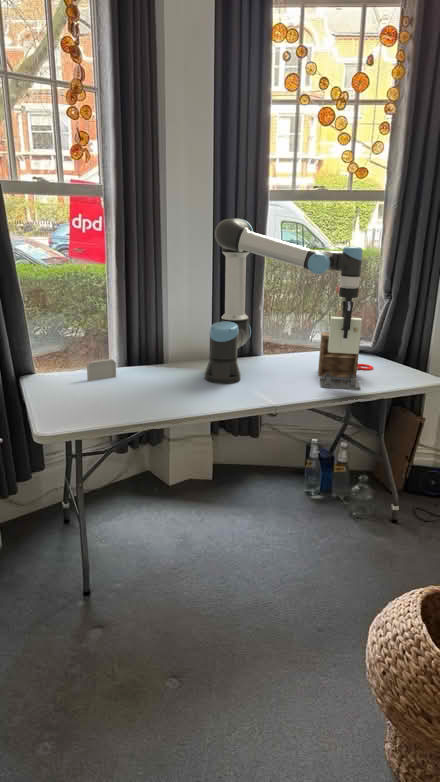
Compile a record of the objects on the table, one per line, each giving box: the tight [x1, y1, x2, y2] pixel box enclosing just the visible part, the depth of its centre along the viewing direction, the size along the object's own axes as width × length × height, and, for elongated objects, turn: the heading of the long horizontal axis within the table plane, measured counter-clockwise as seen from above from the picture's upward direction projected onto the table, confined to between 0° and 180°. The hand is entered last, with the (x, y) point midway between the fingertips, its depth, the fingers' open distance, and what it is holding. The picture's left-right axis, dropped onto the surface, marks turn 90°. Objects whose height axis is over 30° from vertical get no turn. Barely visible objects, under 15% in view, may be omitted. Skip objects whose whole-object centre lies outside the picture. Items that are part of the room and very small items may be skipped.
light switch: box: [86, 358, 117, 382], centre depth 235 cm, size 2×12×8 cm, turn 125°
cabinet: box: [317, 331, 361, 379], centre depth 250 cm, size 16×8×18 cm, turn 83°
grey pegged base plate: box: [319, 372, 362, 391], centre depth 237 cm, size 16×10×4 cm, turn 83°
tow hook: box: [357, 346, 374, 371], centre depth 263 cm, size 8×13×9 cm
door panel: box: [328, 316, 363, 354], centre depth 231 cm, size 12×5×14 cm, turn 83°
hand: (343, 344), depth 233 cm, fingers closed on door panel, 4 cm apart
